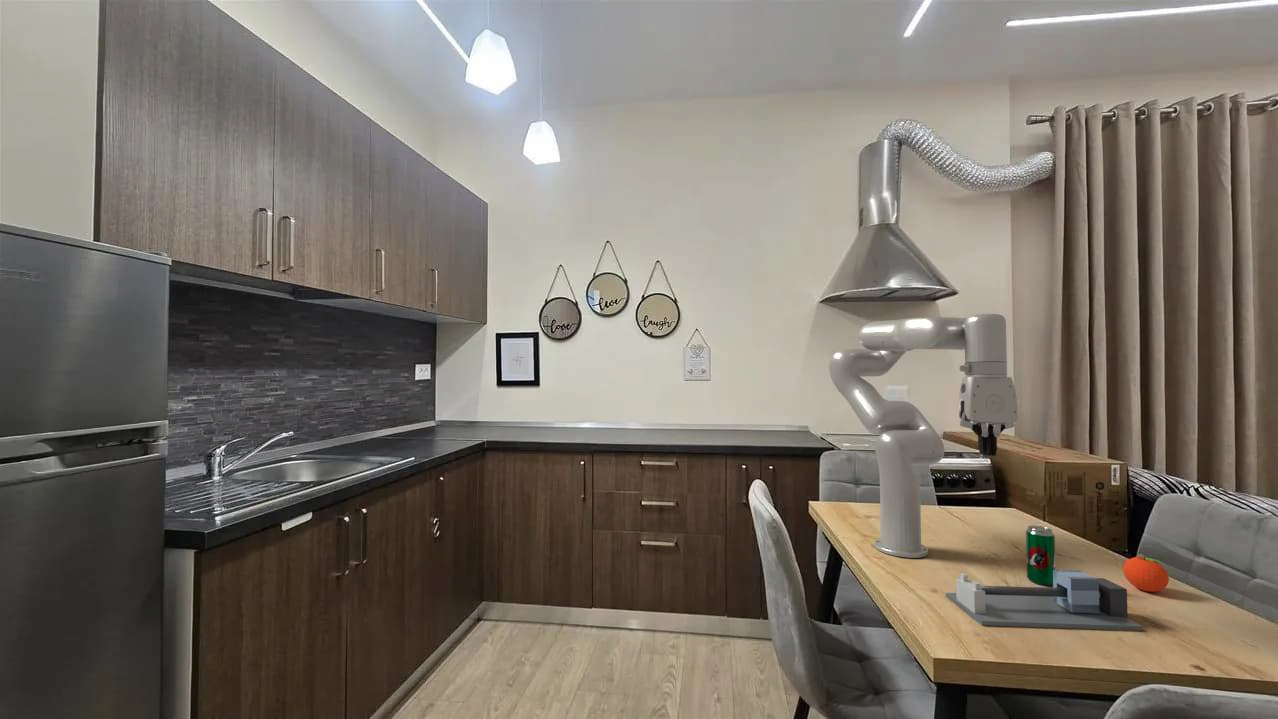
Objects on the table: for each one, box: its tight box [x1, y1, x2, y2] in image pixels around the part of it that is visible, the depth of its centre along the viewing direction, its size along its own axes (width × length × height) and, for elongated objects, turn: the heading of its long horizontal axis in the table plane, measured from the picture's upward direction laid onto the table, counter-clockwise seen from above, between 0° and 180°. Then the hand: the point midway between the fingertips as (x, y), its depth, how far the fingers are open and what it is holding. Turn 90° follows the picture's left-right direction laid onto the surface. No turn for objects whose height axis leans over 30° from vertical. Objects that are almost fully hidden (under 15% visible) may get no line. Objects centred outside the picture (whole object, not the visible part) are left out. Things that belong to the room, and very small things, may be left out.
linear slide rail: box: [945, 573, 1144, 632], centre depth 96 cm, size 28×12×6 cm, turn 86°
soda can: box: [1025, 525, 1057, 587], centre depth 111 cm, size 5×5×12 cm
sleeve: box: [1052, 569, 1099, 613], centre depth 96 cm, size 5×4×6 cm
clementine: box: [1122, 556, 1175, 593], centre depth 106 cm, size 8×7×7 cm
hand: (987, 454), depth 107 cm, fingers closed
